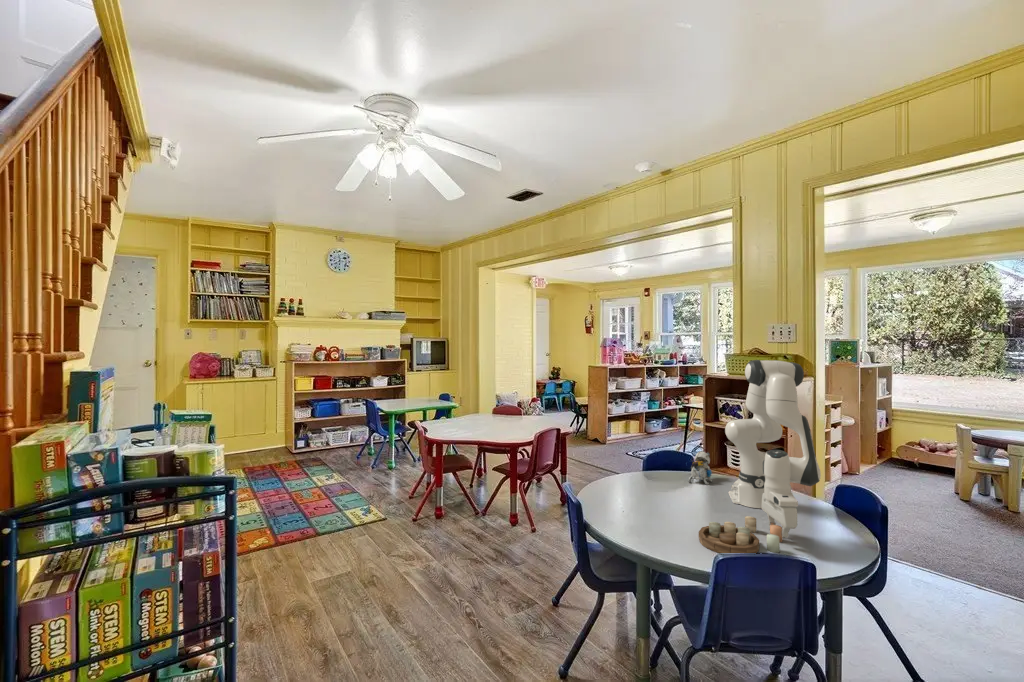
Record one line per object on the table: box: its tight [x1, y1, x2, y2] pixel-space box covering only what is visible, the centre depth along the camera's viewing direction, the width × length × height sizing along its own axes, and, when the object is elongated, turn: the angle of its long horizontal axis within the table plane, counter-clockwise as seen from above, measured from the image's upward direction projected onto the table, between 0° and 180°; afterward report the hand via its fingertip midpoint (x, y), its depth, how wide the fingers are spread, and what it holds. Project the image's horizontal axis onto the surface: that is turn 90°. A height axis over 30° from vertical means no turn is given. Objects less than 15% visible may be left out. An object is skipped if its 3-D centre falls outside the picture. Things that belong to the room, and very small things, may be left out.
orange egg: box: [769, 524, 783, 543], centre depth 174 cm, size 4×4×5 cm
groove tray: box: [698, 521, 760, 554], centre depth 171 cm, size 20×20×6 cm
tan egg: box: [744, 515, 757, 534], centre depth 183 cm, size 4×4×5 cm
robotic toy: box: [685, 450, 713, 485], centre depth 248 cm, size 13×17×15 cm
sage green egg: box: [766, 533, 781, 554], centre depth 166 cm, size 4×4×5 cm
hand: (778, 531), depth 173 cm, fingers open, 8 cm apart
